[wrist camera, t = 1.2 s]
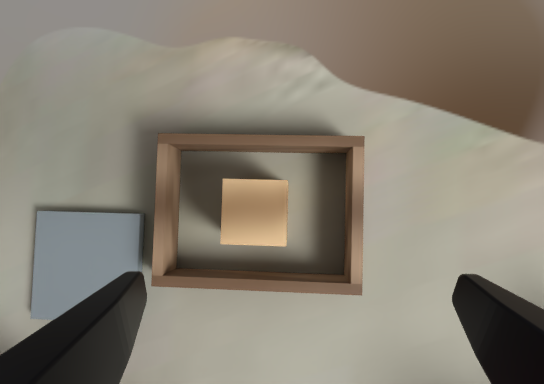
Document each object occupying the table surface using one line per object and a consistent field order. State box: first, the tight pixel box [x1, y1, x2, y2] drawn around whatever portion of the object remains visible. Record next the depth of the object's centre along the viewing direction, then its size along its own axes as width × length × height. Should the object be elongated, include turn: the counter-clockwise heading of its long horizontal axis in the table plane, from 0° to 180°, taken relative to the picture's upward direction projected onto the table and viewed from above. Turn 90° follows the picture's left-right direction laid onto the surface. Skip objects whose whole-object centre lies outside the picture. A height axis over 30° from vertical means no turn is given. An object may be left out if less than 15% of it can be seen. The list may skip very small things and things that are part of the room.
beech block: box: [221, 179, 288, 246], centre depth 24 cm, size 4×4×5 cm
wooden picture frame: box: [151, 133, 364, 295], centre depth 25 cm, size 12×16×3 cm
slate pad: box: [31, 211, 144, 320], centre depth 27 cm, size 9×9×1 cm
